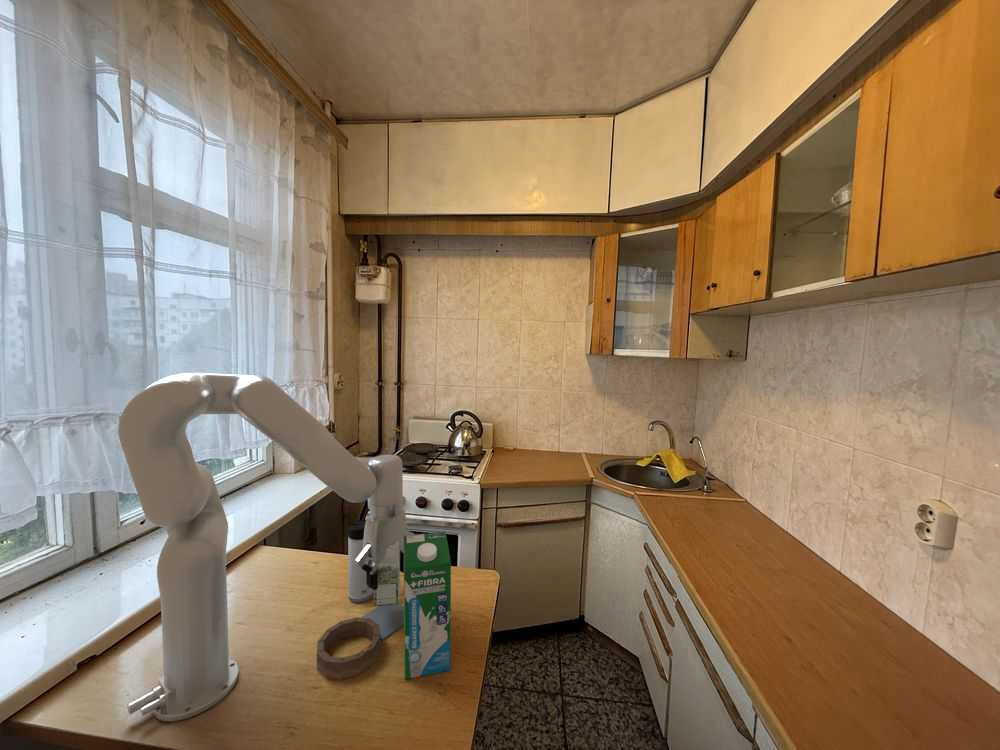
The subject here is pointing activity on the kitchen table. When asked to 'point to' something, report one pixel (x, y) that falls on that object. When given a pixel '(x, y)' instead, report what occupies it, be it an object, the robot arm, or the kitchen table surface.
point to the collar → (353, 663)
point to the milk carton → (427, 604)
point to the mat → (387, 618)
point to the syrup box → (388, 577)
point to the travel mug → (356, 575)
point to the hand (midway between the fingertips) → (387, 578)
